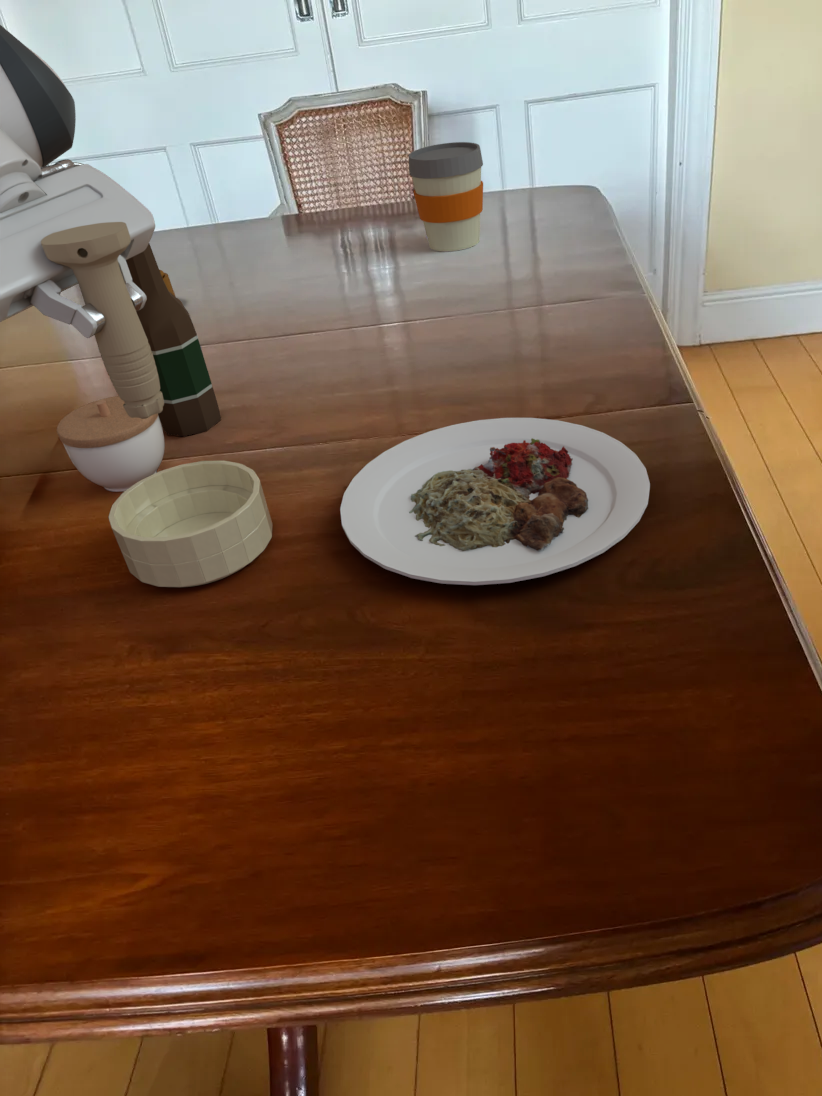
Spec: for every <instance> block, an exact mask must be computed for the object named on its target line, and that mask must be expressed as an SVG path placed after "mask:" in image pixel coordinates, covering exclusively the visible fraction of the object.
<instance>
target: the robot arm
mask: <svg viewBox="0 0 822 1096" xmlns="http://www.w3.org/2000/svg"><path fill="white" fill-rule="evenodd" d="M76 117H77V116H76V103H75V99H74V97H73V95H72V93H71V92H70V91H69V89H68V87H67V86H66V85H65V83H64V82H63V80H62V78H61V77H60V76H59V75H58V73H57V72H56V71H55V70H54V68H52V67H51V66H50V65H49V64H48V63H47V62H46V61H45V60H44V59H42V57H41V56H40V55H38V54H37V53H36V52H34V50H32V49H30V48H29V47H28V46H27V45H25V44H24V43H23V42H22V41H21V40H19V39H18V38H17V37H16V36H14V35H13V34H12V33H11V32H10V31H9V30H7V29H6V28H5V27H3V26H2V25H1V24H0V323H2V322H4V321H6V320H8V319H10V318H12V317H14V316H16V315H18V314H20V313H22V312H24V311H26V310H28V309H30V308H32V307H34V308H35V309H37V310H38V311H39V312H40V313H41V314H42V315H43V316H45V317H48V318H51V319H54V320H56V321H59V322H61V323H64V324H66V325H71V326H72V327H73V328H75V330H76V331H78V333H80V334H81V335H82V336H83V337H84V338H85V339H90V338H92V337H95V334H97V333H99V332H101V331H102V329H103V326H104V325H105V323H106V319H105V317H104V316H103V315H102V314H101V313H99V312H97V309H96V308H95V307H94V306H93V305H92V304H91V303H89V304H86V305H85V304H84V305H82V304H79V303H77V302H76V301H73V300H72V299H69V298H67V297H65V296H63V295H61V294H62V292H64V291H66V290H68V289H70V288H73V287H75V286H77V285H79V284H78V281H77V279H76V277H75V274H74V272H73V270H72V269H71V268H69V267H68V266H65V265H62V264H58V263H55V262H52V261H50V260H49V259H48V258H47V257H46V255H45V252H44V250H43V247H42V244H41V240H42V239H43V238H44V237H46V236H48V235H50V234H52V233H55V232H59V231H62V230H66V229H70V228H74V227H79V226H85V225H91V224H97V223H107V222H124V223H126V225H127V228H128V231H129V234H130V238H131V242H130V244H129V245H128V247H127V248H126V249H125V250H124V251H123V252H122V253H121V254H120V255H119V257H118V263H119V267H120V271H121V274H122V277H123V279H124V282H125V285H126V287H127V290H128V292H129V295H130V298H131V300H132V303H133V305H134V308H135V310H136V311H138V310H140V309H142V308H143V307H144V305H145V302H146V300H147V297H146V295H145V293H144V292H143V291H142V290H141V289H140V288H139V287H138V286H137V285H136V284H134V283H133V282H132V277H131V274H130V271H129V268H128V266H127V263H126V260H127V259H129V258H131V257H133V256H135V255H137V254H139V253H141V252H143V251H144V250H145V249H146V248H147V246H148V244H150V242H151V240H152V237H153V235H154V233H155V229H156V222H155V218H154V216H153V213H152V212H151V211H150V209H149V208H147V207H146V205H144V204H143V203H142V202H141V201H139V199H138V198H136V197H135V196H134V195H133V194H131V193H130V191H128V190H127V189H125V188H124V187H123V186H122V185H120V183H118V182H117V181H115V179H113V178H112V177H110V176H109V175H107V174H106V173H104V172H103V171H101V170H99V169H97V168H95V167H94V166H92V165H91V164H89V163H81V162H77V161H73V160H72V159H69V158H66V159H61V160H57V159H58V158H59V157H61V156H62V155H64V154H65V153H66V152H68V151H69V150H71V149H72V148H73V145H74V139H75V134H76ZM55 160H57V161H56V162H55V163H53V162H54V161H55ZM51 163H53V164H51Z"/></svg>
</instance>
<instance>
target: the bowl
mask: <svg viewBox="0 0 822 1096" xmlns="http://www.w3.org/2000/svg"><path fill="white" fill-rule="evenodd" d="M107 518H108V521H109V525H110V529H111V530H112V532H113V535H114V537H115V540H116V543H117V544H118V547H119V549H120V551H121V554H122V557H123V559H124V561H125V563H126V566H127V569H128V572H129V573H130V574H131V575H132V576H134V578H136V579H137V580H139V582H141V583H144V584H147V585H151V586H155V587H158V588H191V587H198V586H202V585H208V584H211V583H215V582H218V581H220V580H223V579H225V578H227V577H229V576H231V575H233V574H235V573H237V572H239V571H240V570H242V569H243V568H245V567H246V566H247V565H250V564H251V563H252V562H253V561H254V560H255V559H256V558H258V557H259V556H260V555H261V554H262V553H263V552H264V551H265V550H266V549H267V547H268V544H269V543H270V541H271V539H272V537H273V526H274V525H273V522H272V518H271V514H270V510H269V507H268V503H267V499H266V496H265V493H264V489H263V486H262V483H261V479H260V478H259V476H258V475H257V473H256V471H255V470H254V469H252V468H251V467H248V466H246V465H245V464H243V463H239V462H234V461H229V460H200V461H195V462H188V463H183V464H179V465H175V466H173V467H168V468H166V469H163V470H160V471H157V473H155V474H153V475H151V476H149V477H147V478H145V479H142V480H140V481H139V482H137V483H136V484H134V485H133V486H132V487H130V488H129V489H127V490H126V491H122V493H121V494H120V495H119V497H117V499H116V500H115V501H114V503H112V505H111V508H110V511H109V514H108V517H107Z"/></svg>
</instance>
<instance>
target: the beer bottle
mask: <svg viewBox="0 0 822 1096" xmlns="http://www.w3.org/2000/svg"><path fill="white" fill-rule="evenodd" d="M126 263H127V266H128V268H129V271H130V274H131V277H132V282H133V283H134V284H136V285H137V286H138V287H139V288H140V289H141V290H142V291H143V292H144V293H145V295H146V297H147V300H146V302H145V305H144V307H143V308H142V309H140V310H138V311H136V312H137V315H138V317H139V320H140V322H141V325H142V327H143V330H144V332H145V334H146V337H147V339H148V343H149V345H150V348H151V351H152V354H153V358H154V360H155V365H156V368H157V372H158V377H159V382H160V391H161V392H162V395H163V399H164V406H163V410H162V412H161V413H158V416H159V419H160V422H161V426H162V429H163V432H164V433H165V434H166V435H168V434H170V435H169V436H176V435H179V436H178V437H183V436H185V437H188V436H187V435H189V436H192V434H193V435H196V434H200V433H205V432H207V431H209V430H210V429H211V428H213V427H214V426H215V425H216V424H218V423H219V422H221V419H222V416H221V412H220V409H219V403H218V400H217V397H216V393H215V391H214V386H213V384H212V380H211V377H210V373H209V370H208V366H207V364H206V360H205V357H204V353H203V350H202V347H201V344H200V340H199V337H198V334H197V331H196V328H195V326H194V323H193V321H192V317H191V315H190V313H189V311H188V310H187V308H186V307H185V306H184V304H182V303H183V302H182V300H181V299H179V298H178V297H177V296H176V295H175V296H176V297H175V296H174V295H173V294H172V293H171V292H169V290H168V288H167V286H166V284H165V282H164V280H163V278H162V276H161V273H160V270H161V269H160V268H159V264H158V262H157V260H156V257H155V254H154V252H153V249H152V247H151V243H149V244H148V246H147V248H146V249H145V250H144V251H143V252H141V253H139V254H137V255H135V256H133V257H131V258H129V259H127V260H126ZM177 298H178V299H179V300H178V299H177ZM181 302H182V303H181ZM171 434H172V435H171Z"/></svg>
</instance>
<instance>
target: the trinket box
mask: <svg viewBox="0 0 822 1096" xmlns="http://www.w3.org/2000/svg"><path fill="white" fill-rule="evenodd" d="M123 404H125V402H124V401H123V400H121V398H120V397H119V395H115V396H109V397H105V398H102V399H97V400H94V401H91V402H89V403H86V404H83V405H82V406H80V407H77V408H76V409H73V410H72V411H70V412H69V413H68V414H66V415H65V416H64V417H62V418H61V419H60V421H59V423H58V424H57V427H56V433H57V436H58V438H59V441H60V442H61V443H62V444H63V447H64V449H65V452H66V454H67V455H68V458H69V459H70V461H71V462H72V464H73V466H74V467H75V469H76V470H77V471H78V472H79V473H80V474H81V475H82V476H83V477H84V478H85V479H86V480H88V481H90V482H92V483H93V484H94V485H95V484H96V485H98V486H100V487H103V488H104V490H106V491H109V492H113V493H119V492H122V493H123V492H124V491H126V490H127V489H129V488H130V487H132V486H133V485H134V484H136V483H137V482H139V481H140V480H142V479H145V478H147V477H149V476H151V475H153V474H155V473H157V472H158V471H157V470H158V469H159V467H160V466H161V464H162V461H163V459H164V455H165V449H166V448H165V447H166V444H165V443H166V442H165V435H164V429H163V427H162V424H161V422H160V419H159V416H158V414H154V415H152V416H150V417H149V418H146V419H141V418H137V417H135V418H131V417H130V416H128V414H127V412H126V411H125V409H124V407H123Z"/></svg>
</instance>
